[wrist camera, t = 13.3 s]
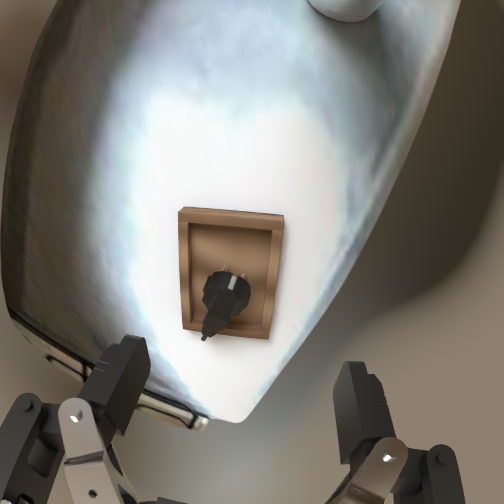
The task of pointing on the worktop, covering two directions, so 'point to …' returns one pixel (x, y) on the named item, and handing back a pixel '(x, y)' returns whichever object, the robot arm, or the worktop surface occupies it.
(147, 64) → the worktop surface
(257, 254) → the brown tray
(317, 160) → the worktop surface
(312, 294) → the worktop surface
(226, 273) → the power plug
